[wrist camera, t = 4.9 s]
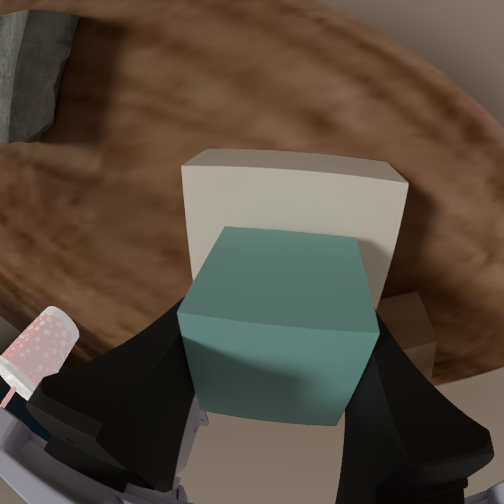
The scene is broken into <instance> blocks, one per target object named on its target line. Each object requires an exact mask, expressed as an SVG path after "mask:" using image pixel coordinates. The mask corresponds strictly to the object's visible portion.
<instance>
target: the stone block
mask: <svg viewBox="0 0 504 504" xmlns="http://www.w3.org/2000/svg"><path fill="white" fill-rule="evenodd" d="M79 18H80V16H78V15H73V14H68V13H62V12H55V11H45V10H24V11H19V12H15V13H11V14H7V15H3V16H0V141H2V142H5V143H12V142H20V141H22V142H28V143H32V142H37V141H39V140H40V139H41V136H42V134H43V133H44V132H45V131H47V130H48V129H49V128H50V127H51V126H52V124H53V122H54V115H55V107H56V100H57V95H58V91H59V85H60V79H61V75H62V73H63V71H64V68H65V63H66V60H67V59H68V58H69V56H70V53H71V47H72V43H73V39H74V34H75V32H76V29H77V24H78V21H79Z"/></svg>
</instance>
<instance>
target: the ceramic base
mask: <svg viewBox="0 0 504 504" xmlns="http://www.w3.org/2000/svg"><path fill="white" fill-rule="evenodd" d="M181 168H182V181H183V193H184V204H185V215H186V225H187V234H188V243H189V252H190V260H191V268H192V276H193V281H194V280H195V278H196V276H197V274H198V272H199V271H200V269H201V267H202V265H203V263H204V262H205V260H206V258H207V256H208V254H209V253H210V251H211V249H212V247H213V246H214V244H215V242H216V240H217V239H218V237H219V235H220V233H221V232H222V230H223V228H224V226H231V227H244V228H257V229H269V230H281V231H292V232H304V233H315V234H325V235H336V236H346V237H355V238H356V241H357V244H358V248H359V251H360V255H361V258H362V262H363V266H364V269H365V273H366V277H367V281H368V284H369V288H370V292H371V296H372V301H373V305H374V308H375V309H377V306H378V303H379V300H380V297H381V294H382V290H383V287H384V284H385V281H386V277H387V274H388V270H389V267H390V263H391V260H392V256H393V252H394V249H395V245H396V241H397V237H398V233H399V228H400V224H401V220H402V215H403V211H404V206H405V201H406V196H407V191H408V185H409V183H408V182H407V181H406V180H405V179H404V178H403V177H402V176H401V175H400V174H399V173H398V172H397V171H396V170H395V169H394V168H392V167H391V166H390V165H389V164H388V163H387V162H382V161H375V160H368V159H361V158H353V157H344V156H336V155H326V154H315V153H303V152H290V151H273V150H251V149H206V150H205V151H203V152H202V153H200V154H199V155H197V156H196V157H194V158H192V159H191V160H189V161H188V162H186V163H185V164H183V165H182V166H181Z"/></svg>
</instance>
